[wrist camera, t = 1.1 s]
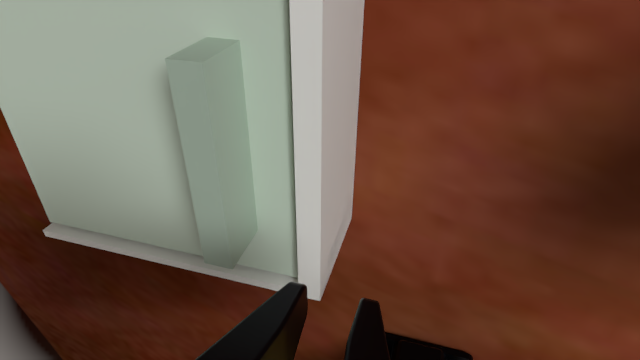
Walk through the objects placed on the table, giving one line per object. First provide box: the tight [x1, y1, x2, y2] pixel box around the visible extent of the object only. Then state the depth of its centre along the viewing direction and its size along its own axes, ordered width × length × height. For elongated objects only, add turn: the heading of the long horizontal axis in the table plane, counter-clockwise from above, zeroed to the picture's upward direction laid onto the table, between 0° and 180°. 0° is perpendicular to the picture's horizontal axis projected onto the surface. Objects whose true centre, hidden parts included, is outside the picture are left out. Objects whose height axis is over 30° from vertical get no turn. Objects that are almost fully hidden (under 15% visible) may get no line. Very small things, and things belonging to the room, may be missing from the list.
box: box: [43, 0, 364, 301], centre depth 19 cm, size 14×15×6 cm
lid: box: [0, 0, 298, 277], centre depth 17 cm, size 13×14×3 cm
